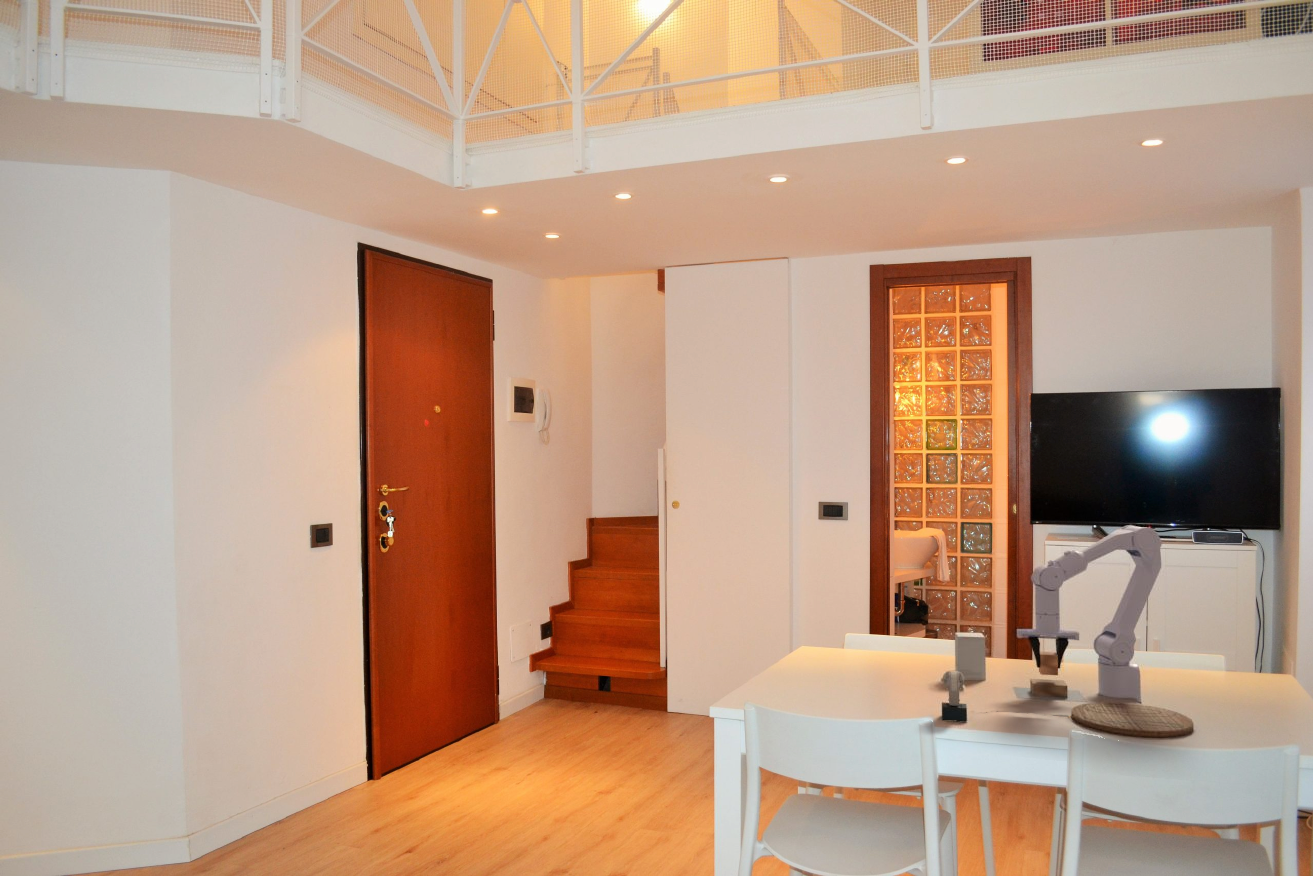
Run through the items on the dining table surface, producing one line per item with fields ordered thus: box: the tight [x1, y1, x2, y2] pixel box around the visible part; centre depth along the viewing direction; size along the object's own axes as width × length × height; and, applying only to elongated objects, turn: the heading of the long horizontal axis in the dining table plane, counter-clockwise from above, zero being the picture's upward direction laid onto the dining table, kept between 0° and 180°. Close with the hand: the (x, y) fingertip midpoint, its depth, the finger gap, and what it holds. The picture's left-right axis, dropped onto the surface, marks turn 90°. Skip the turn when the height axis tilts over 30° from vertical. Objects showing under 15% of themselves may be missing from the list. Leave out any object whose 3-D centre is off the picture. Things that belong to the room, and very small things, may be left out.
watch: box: [940, 670, 968, 722], centre depth 224 cm, size 6×8×11 cm
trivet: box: [1071, 701, 1194, 739], centre depth 220 cm, size 25×25×2 cm
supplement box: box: [954, 632, 987, 681], centre depth 263 cm, size 7×7×13 cm
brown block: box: [1029, 678, 1068, 698], centre depth 243 cm, size 8×6×3 cm
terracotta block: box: [1038, 651, 1059, 676], centre depth 243 cm, size 4×4×5 cm
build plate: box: [1012, 686, 1088, 703], centre depth 243 cm, size 16×12×1 cm
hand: (1048, 667), depth 243 cm, fingers closed on terracotta block, 4 cm apart
